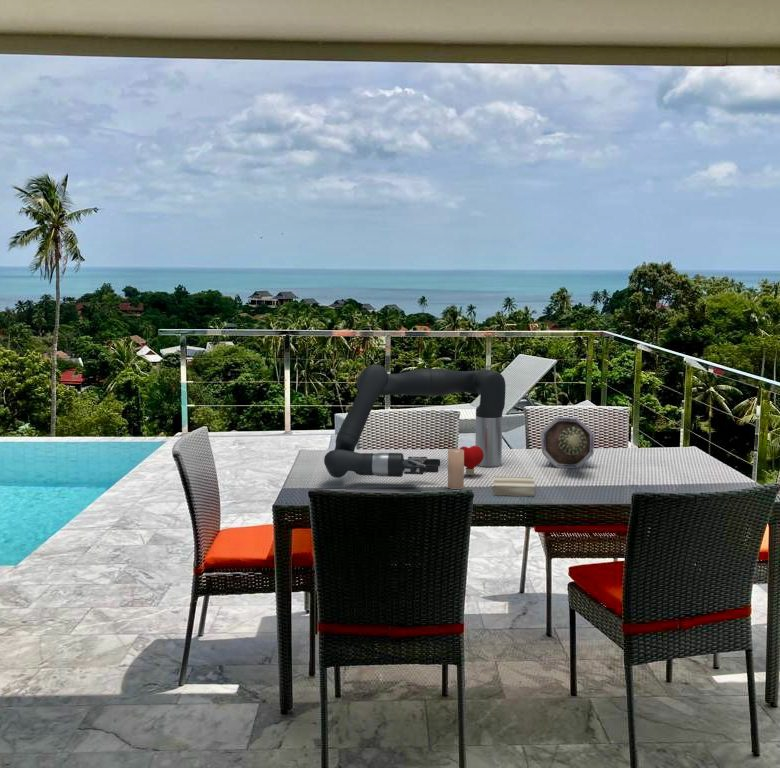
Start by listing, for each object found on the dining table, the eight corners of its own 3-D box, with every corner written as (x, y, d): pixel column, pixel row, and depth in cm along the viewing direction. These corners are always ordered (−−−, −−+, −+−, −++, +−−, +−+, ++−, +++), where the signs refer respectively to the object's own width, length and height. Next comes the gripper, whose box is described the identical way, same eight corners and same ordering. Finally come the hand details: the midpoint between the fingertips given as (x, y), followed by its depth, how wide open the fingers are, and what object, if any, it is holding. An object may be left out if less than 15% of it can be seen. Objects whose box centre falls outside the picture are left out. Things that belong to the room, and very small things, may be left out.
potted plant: (539, 418, 306) (546, 411, 276) (590, 421, 304) (602, 415, 274) (537, 467, 304) (543, 465, 275) (587, 470, 302) (600, 469, 273)
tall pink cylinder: (448, 485, 268) (448, 448, 266) (463, 486, 267) (464, 448, 266) (447, 489, 263) (447, 451, 261) (463, 490, 262) (463, 452, 261)
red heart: (460, 479, 276) (460, 449, 274) (452, 474, 282) (453, 445, 281) (487, 477, 278) (487, 447, 277) (478, 472, 285) (479, 443, 284)
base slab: (494, 485, 267) (494, 476, 267) (532, 486, 266) (532, 477, 266) (494, 495, 256) (494, 485, 255) (534, 496, 254) (534, 487, 254)
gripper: (385, 457, 259) (437, 458, 257) (390, 448, 273) (440, 449, 271) (385, 481, 260) (437, 483, 258) (390, 471, 274) (440, 472, 272)
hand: (439, 465), depth 265 cm, fingers open, 8 cm apart
